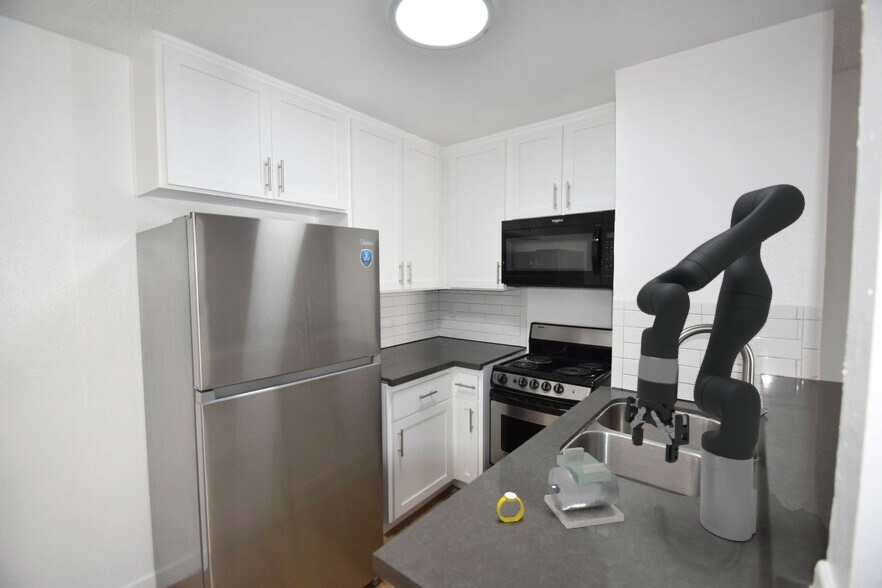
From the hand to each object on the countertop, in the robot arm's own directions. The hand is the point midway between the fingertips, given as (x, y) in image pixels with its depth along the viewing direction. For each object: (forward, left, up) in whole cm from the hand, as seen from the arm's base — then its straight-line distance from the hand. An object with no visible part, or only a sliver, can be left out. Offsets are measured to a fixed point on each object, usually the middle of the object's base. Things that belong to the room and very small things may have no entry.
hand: (653, 453), depth 83 cm
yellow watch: (+28, -11, -18) cm, 35 cm away
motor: (+10, -11, -18) cm, 23 cm away
